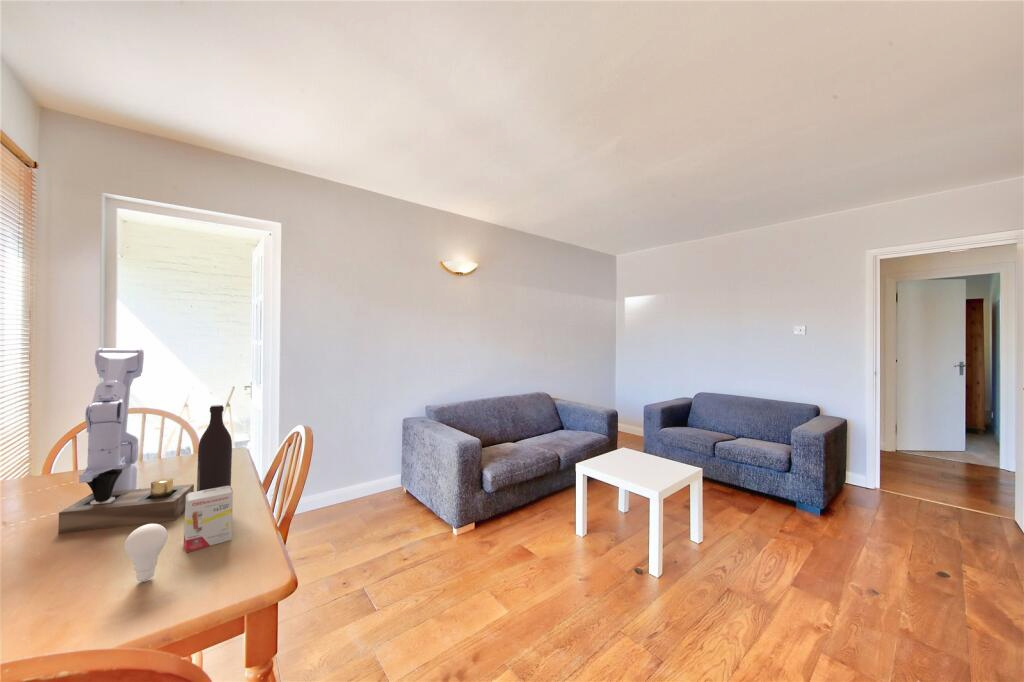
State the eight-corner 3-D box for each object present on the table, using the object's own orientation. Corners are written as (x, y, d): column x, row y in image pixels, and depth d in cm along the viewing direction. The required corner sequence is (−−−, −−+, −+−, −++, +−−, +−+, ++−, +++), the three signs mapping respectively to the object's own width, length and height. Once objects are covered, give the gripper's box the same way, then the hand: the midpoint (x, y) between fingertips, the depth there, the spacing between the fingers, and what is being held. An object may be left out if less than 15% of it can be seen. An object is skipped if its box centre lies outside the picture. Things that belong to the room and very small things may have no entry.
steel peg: (96, 516, 99) (97, 497, 99) (118, 514, 100) (119, 495, 100) (84, 524, 95) (85, 504, 95) (108, 521, 96) (108, 502, 96)
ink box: (184, 553, 84) (186, 500, 84) (183, 544, 87) (184, 493, 87) (232, 540, 90) (233, 490, 90) (229, 532, 93) (230, 484, 93)
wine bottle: (218, 510, 104) (221, 402, 104) (236, 515, 102) (239, 404, 102) (189, 522, 97) (192, 406, 97) (207, 527, 95) (211, 409, 95)
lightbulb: (142, 571, 77) (144, 518, 77) (174, 571, 78) (176, 517, 77) (113, 591, 71) (115, 533, 71) (148, 590, 71) (150, 533, 71)
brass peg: (155, 497, 103) (155, 479, 103) (175, 495, 105) (176, 477, 105) (146, 503, 99) (147, 485, 99) (167, 501, 101) (168, 483, 101)
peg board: (91, 511, 101) (92, 492, 101) (193, 501, 109) (193, 484, 109) (58, 533, 90) (58, 512, 90) (173, 520, 98) (174, 501, 98)
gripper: (107, 455, 92) (105, 510, 92) (140, 439, 106) (138, 488, 106) (67, 457, 90) (66, 514, 90) (106, 441, 103) (105, 491, 103)
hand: (102, 500), depth 97 cm, fingers closed, pressing on steel peg
